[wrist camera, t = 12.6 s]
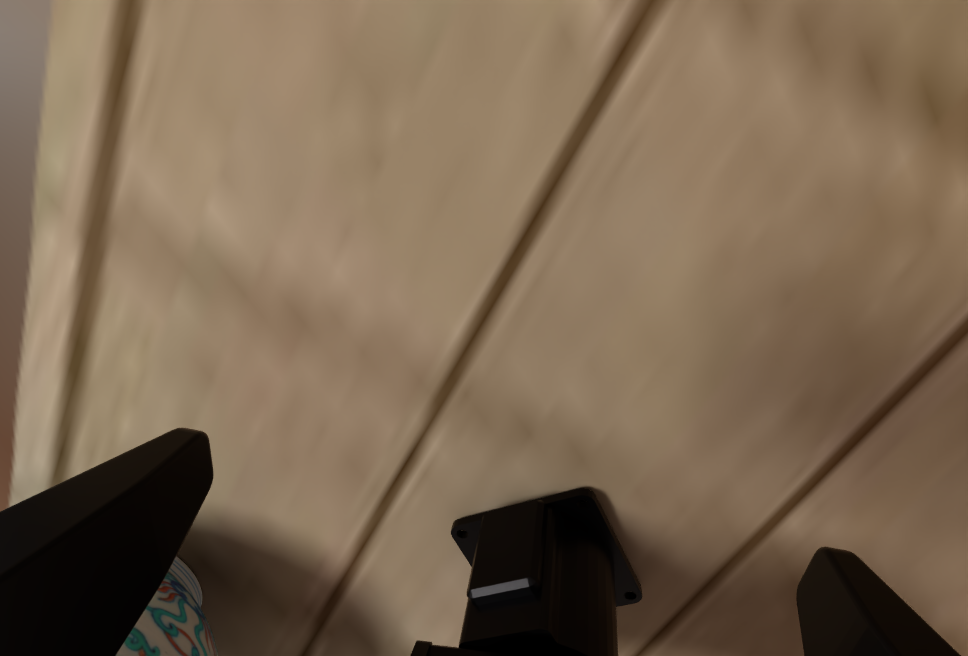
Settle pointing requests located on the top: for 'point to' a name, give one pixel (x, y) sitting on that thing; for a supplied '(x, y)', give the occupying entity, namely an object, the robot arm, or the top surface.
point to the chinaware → (172, 620)
